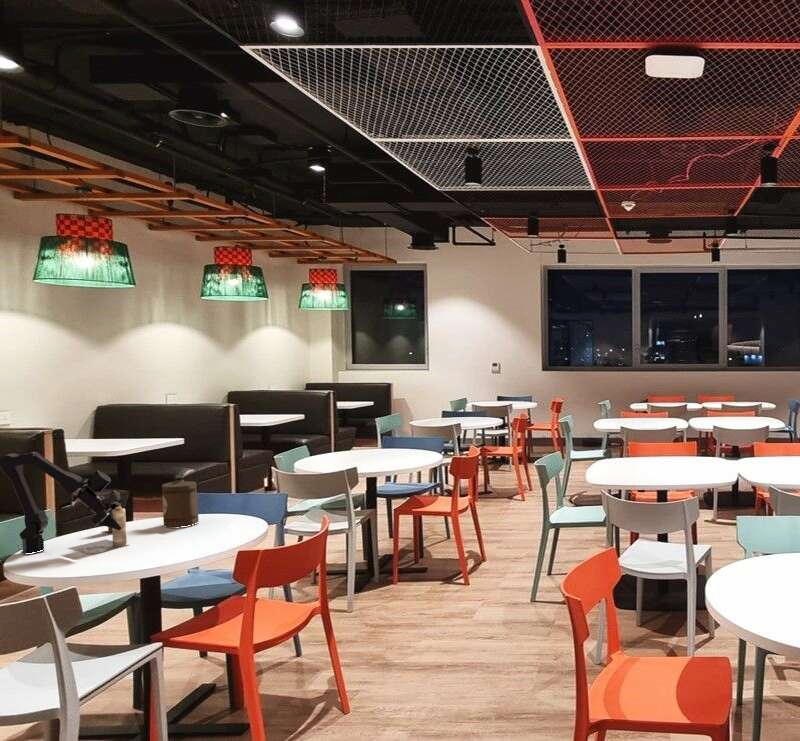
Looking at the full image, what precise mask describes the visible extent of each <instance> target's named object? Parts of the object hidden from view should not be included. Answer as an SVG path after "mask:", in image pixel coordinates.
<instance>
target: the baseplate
mask: <svg viewBox="0 0 800 741" xmlns="http://www.w3.org/2000/svg"><path fill="white" fill-rule="evenodd" d="M128 546H130V544H128V543H127V545H126V546H124V547H125V548H126V547H128ZM124 547H123V548H124ZM121 548H122V547H113V540H109V539H107V538H105V539H102V540H97V541H93V542H88V543H84V544H80V545H74V546H71V547H68V548H67V549H69V550H73V551H76V552H79V553H83V554H87V555H96V554H100V553H104V552H108V551H112V550H117V549H121Z"/></svg>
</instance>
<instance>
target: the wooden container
mask: <svg viewBox="0 0 800 741" xmlns="http://www.w3.org/2000/svg"><path fill="white" fill-rule="evenodd" d="M161 488H162V516H163V517H162V519H163V527H164V526H166V527H181V526H188V525H192V524H195V523H197V522H198V521H199V505H198V504H199V503H198V491H197V490H198V489H197V488H198V486H197V482H196V481H193V480H192V481H191V480H190V481H189V480H184V476H183V475H182V474H177V475H175V480H174V481H171V482H166V483H163V484H162V486H161ZM166 527H165V528H166Z"/></svg>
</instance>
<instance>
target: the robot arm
mask: <svg viewBox="0 0 800 741" xmlns="http://www.w3.org/2000/svg"><path fill="white" fill-rule="evenodd" d="M26 464H31V465H32V466H33V467H35V468H37V469H38V470H40V471H42V472H43V473H45V474H46V475H48V476H49V477H51V478H52V479H54V480H55V481H56V482H57V483H58V485H59V486H60V488H62V489H63V490H64V491H65V492H67V493H70V494H71V493H74V494H72V502H73V503H75V502H77V501H80V502H81V503H82V504H83V505H84V506H86V507H87V509H86V510H87V511H91V512H93V514H95V515H94V516H93V517H92V518H91V524H92V525H93V526H94V527H96V526H98V525H99V526H103V527H107V528H108V527H110V528H113V529H117V530H121V527H120V525H119V524H118V523H117V522H116V521H115V519H114V518H113V515H112V510H114V509H115V507H120V506H121V507H122V503H121V502H118V501H120V500H122V497H121V493H120V492H119V491H116V490H113V491H111V492H110V493H109V495H108V496H104V495H103V496H102V495H101V496H100V495H98V493H102V492H103V490H104V489H105V488H106V487H107V486H108V485H109V484H110V483H111V481H112V479H111V477H110V476H109V475H108V474H106V473H104V472H102V471H100V470H99V469H98V470H95V471H94V473H93V474H92V475H91V477H89V478H83V477H82V476H80V475H77V474H75V473H73V472H69V471H66V470H65V469H62V468H60V467H59V466H57V465H56V464H55V463H53V462H51V461H50V460H48V459H47V458H46V457H43V455H41V454H40V453H39V452H36V451H32V452H29V453H23V454H17V453H14V452H13V453H8V454H6V455H3V456H1V458H0V470H1V471H2V472H3V474H4V475H5V476H6V477H7V478H8V479H9V480H10V482H11V484H12V488H13V490H14V491H15V494H16V496H17V499H18V501H19V503H20V505H21V509H22V510H23V513H24V518H23V519H24V521H23V522H24V527H25V528H23V529H22V530H21V532H20V533H19V537H20V539H21V540H22V544H21V545H22V550H21V551H20V554H23V553H32V552H37V551H40V550H43V551H44V550H45V542H44V538H43V533H44V530H46V529H47V527H48V525H49V521H48V520H49V519H50V518H49V517H48V516H47V513H46V510H45V509H42V510H40V509H39V508H38V507H37V506H38V505H37V504H36V501H35V499H34V497H33V495H32V492H31V490H30V488H29V485H28V483H27V481H26V478H25V476H24V465H26ZM84 487H85V488H84ZM77 491H78V492H77ZM75 492H77V493H75ZM120 503H121V504H120ZM99 522H100V523H99ZM44 552H45V551H44Z"/></svg>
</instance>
